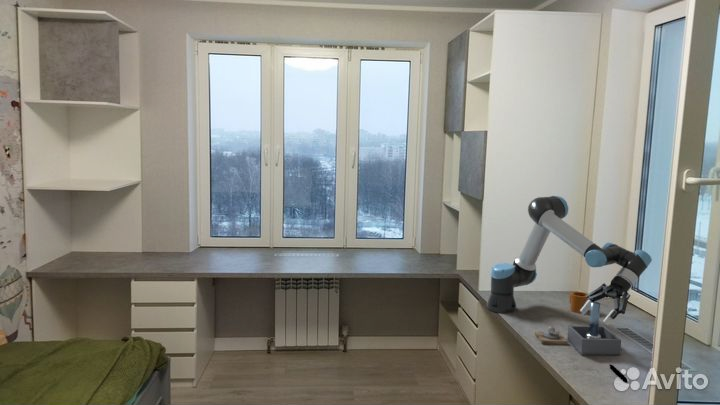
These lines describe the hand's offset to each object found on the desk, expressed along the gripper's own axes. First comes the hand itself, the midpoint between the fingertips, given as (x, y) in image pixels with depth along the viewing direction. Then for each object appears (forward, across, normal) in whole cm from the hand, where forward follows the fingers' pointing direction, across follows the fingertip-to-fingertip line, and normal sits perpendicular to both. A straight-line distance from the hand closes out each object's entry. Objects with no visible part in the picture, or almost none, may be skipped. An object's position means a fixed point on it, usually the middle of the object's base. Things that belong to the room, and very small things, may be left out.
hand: (593, 318), depth 222 cm
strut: (+8, 0, -10) cm, 13 cm away
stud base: (+17, +14, -3) cm, 22 cm away
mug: (-12, +44, -32) cm, 55 cm away
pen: (+16, -23, -4) cm, 28 cm away
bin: (+9, 0, -10) cm, 14 cm away
